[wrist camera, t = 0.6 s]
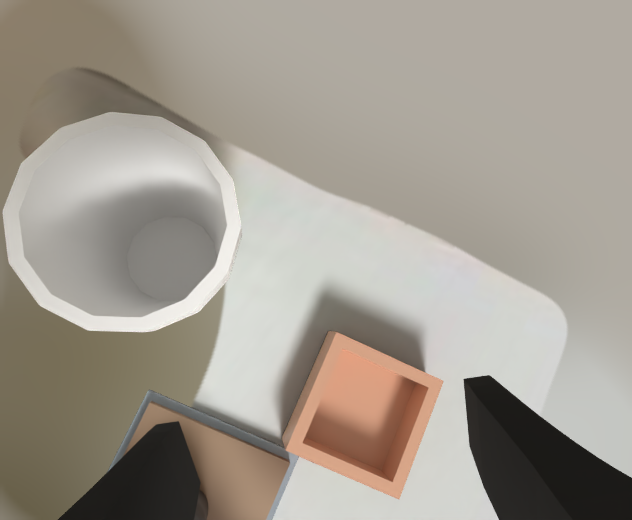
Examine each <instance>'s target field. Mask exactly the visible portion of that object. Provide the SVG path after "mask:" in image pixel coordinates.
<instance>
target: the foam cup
mask: <svg viewBox="0 0 632 520" xmlns="http://www.w3.org/2000/svg"><path fill="white" fill-rule="evenodd" d="M2 213H3V220H4V229H5V236H6V245H7V253H8V261H9V264H10V265H11V267H12V268H13V270H14V271H15V272H16V274H17V275H18V276H19V278H20V279H21V281H22V282H23V283H24V284H25V286H26V288H27V289H28V290H29V292H30V293H31V294H32V296H33V297H34V299H35V300H36V301H37V303H38V304H39V306H41V307H43V308H45V309H47V310H49V311H51V312H53V313H55V314H57V315H59V316H61V317H63V318H65V319H67V320H68V321H70V322H73V323H75V324H77V325H79V326H80V327H82V328H84V329H86V330H88V331H121V332H149V331H155V330H157V329H160V328H162V327H165V326H167V325H169V324H172V323H174V322H176V321H179V320H181V319H184V318H186V317H188V316H191V315H193V314H195V313H198V312H199V311H200V310H201V309H202V308H203V307H204V306H205V305H206V303H207V302H208V301H209V300H210V299H211V298H212V297H213V296H214V295H215V293H216V292H217V291H218V290H219V289H220V288H221V287H222V286H223V285H224V284H225V282H226V281H227V280H228V279H229V278H230V274H231V271H232V268H233V264H234V261H235V257H236V254H237V251H238V247H239V244H240V240H241V237H242V229H241V221H240V216H239V210H238V204H237V199H236V193H235V187H234V182H233V179H232V177H231V176H230V175H229V173H228V172H227V171H226V169H225V168H224V166H223V165H222V164H221V162H220V161H219V160H218V158H217V157H216V156H215V154H214V153H213V151H212V150H211V149H210V147H209V146H208V145H207V143H206V142H205V141H204V140H202V139H201V138H199V137H197V136H195V135H193V134H192V133H190V132H188V131H186V130H184V129H183V128H181V127H179V126H177V125H175V124H174V123H172V122H170V121H168V120H166V119H165V118H163V117H160V116H149V115H139V114H128V113H118V112H108V113H105V114H102V115H98V116H95V117H92V118H89V119H86V120H83V121H80V122H77V123H74V124H71V125H67V126H64V127H61V128H59V129H58V130H57V131H56V132H55V133H54V134H53V135H52V136H51V137H49V138H48V139H47V140H46V141H45V142H44V143H43V144H42V145H41V146H40V147H38V148H37V149H36V150H35V151H34V152H33V153H32V154H31V155H30V156H28V157H27V158H26V159H25V160H24V161H23V162H22V163H21V165H20V167H19V170H18V173H17V175H16V178H15V180H14V183H13V185H12V188H11V190H10V193H9V196H8V198H7V201H6V203H5V206H4V209H3V211H2Z"/></svg>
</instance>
